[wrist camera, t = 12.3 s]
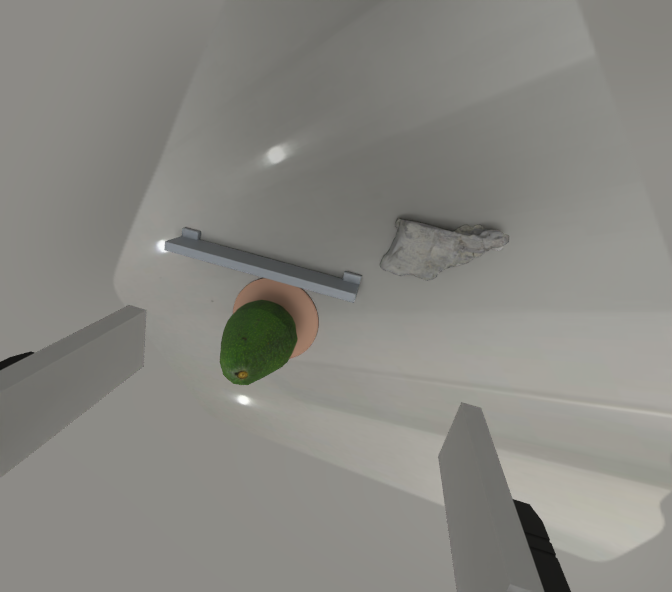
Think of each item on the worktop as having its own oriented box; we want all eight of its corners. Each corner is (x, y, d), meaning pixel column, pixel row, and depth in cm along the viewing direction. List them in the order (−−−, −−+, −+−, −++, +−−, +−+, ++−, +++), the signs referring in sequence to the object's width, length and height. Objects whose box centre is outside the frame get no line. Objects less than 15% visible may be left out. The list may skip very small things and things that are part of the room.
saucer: (240, 266, 45) (239, 267, 44) (327, 290, 44) (326, 292, 44) (229, 344, 49) (228, 345, 48) (308, 367, 48) (308, 369, 48)
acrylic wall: (185, 227, 44) (165, 232, 41) (361, 275, 43) (358, 285, 39) (183, 250, 45) (164, 258, 42) (355, 298, 44) (351, 310, 40)
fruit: (253, 351, 48) (209, 406, 37) (237, 294, 46) (184, 335, 35) (311, 345, 46) (283, 401, 35) (297, 285, 44) (263, 325, 33)
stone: (488, 283, 41) (499, 294, 37) (379, 272, 42) (378, 282, 39) (501, 225, 39) (513, 231, 35) (385, 215, 40) (385, 219, 36)
